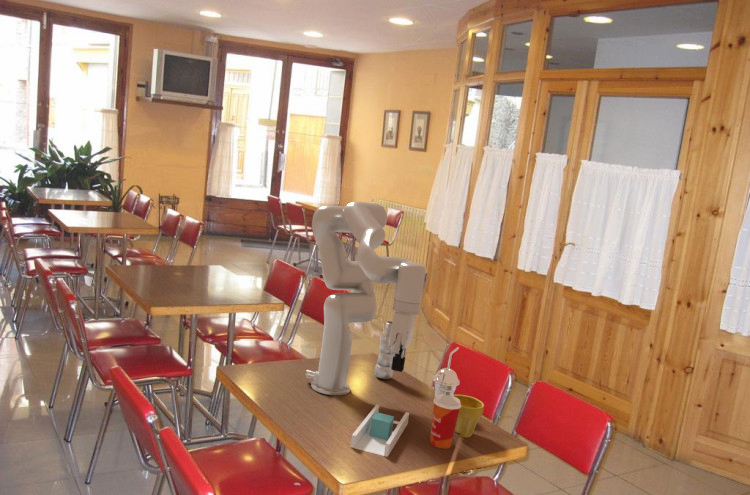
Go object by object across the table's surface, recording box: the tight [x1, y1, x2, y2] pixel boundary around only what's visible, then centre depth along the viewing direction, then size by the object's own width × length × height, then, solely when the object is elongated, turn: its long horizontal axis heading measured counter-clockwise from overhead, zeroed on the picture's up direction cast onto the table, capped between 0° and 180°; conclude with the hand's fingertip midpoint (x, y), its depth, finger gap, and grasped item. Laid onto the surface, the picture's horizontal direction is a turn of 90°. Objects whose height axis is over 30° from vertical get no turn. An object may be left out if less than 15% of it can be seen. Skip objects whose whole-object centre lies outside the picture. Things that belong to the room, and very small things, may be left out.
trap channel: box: [349, 404, 410, 458], centre depth 178 cm, size 10×24×4 cm, turn 165°
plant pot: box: [452, 394, 485, 438], centre depth 190 cm, size 10×10×10 cm
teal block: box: [369, 411, 395, 440], centre depth 178 cm, size 5×5×5 cm
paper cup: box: [429, 394, 461, 449], centre depth 177 cm, size 8×8×14 cm
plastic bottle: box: [374, 320, 395, 380], centre depth 228 cm, size 6×7×20 cm
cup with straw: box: [432, 346, 460, 398], centre depth 205 cm, size 8×9×20 cm
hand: (397, 370), depth 184 cm, fingers closed
